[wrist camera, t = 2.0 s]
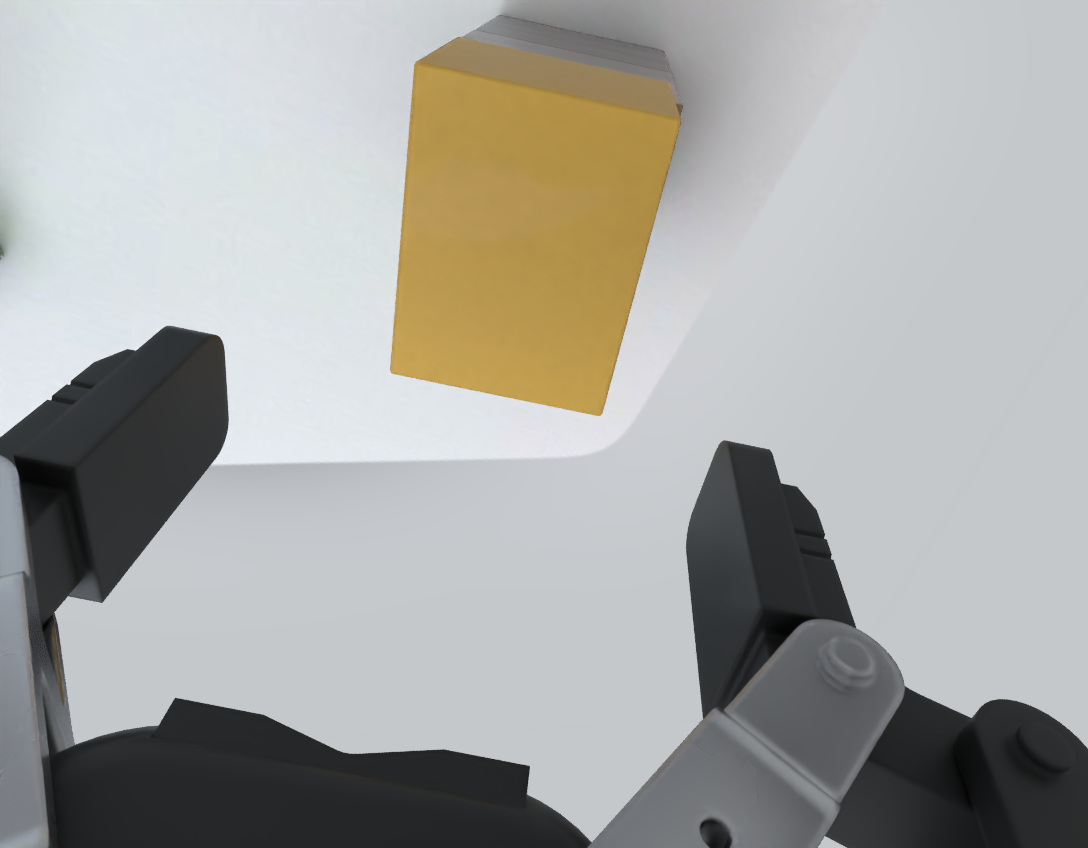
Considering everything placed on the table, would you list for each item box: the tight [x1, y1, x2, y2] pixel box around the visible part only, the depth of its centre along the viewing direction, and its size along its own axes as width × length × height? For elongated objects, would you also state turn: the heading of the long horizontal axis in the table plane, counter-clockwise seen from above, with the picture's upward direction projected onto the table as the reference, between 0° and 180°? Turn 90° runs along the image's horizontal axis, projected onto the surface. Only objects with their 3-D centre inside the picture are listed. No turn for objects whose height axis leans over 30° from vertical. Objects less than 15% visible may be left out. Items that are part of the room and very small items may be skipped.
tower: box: [462, 15, 683, 116], centre depth 28 cm, size 7×7×12 cm
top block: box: [390, 37, 681, 416], centre depth 21 cm, size 6×8×5 cm
